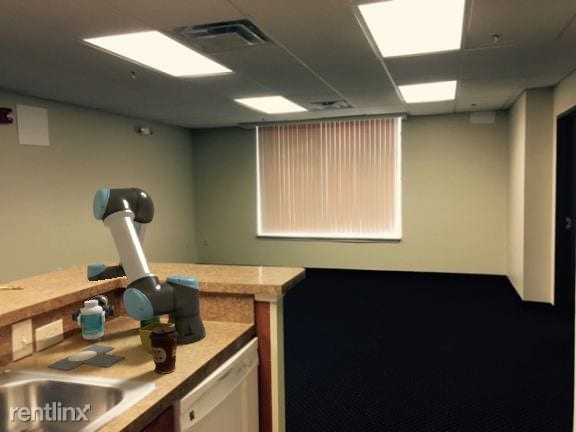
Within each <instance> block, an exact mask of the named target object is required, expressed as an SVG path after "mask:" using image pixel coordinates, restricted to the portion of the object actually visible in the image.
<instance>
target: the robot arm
mask: <svg viewBox="0 0 576 432" xmlns="http://www.w3.org/2000/svg"><path fill="white" fill-rule="evenodd" d="M92 212H93V216H94V219H96V220H97V221H102V224H103V226H104V227H105V228H107V229H109V231H110V233H111V236H112V239H113V242H114V245H115V248H116V251H117V253H118V256H119V262H118V264H117V265H109V266H107V264H106V263H104V262H98V263H97V262H94V263H91V264H89V265H88V266H87V269H86V272H87V273H86V274H87V277H86V278H87V281H88V280H89V281H98V280H105V279H112V278H117V277H123V276H126V277H127V280H128V282H127V284H126V286H125V290H124V292H123V295H122V297H123V298H122V299H123V305H124V307H125V311H126V313H127V315H128V316H129V317H130V318H131V319H132V320H135V321H137V322H138V321H139V322H140V321H141V320H149V319H151V318H155V317H159V316H160V317H163V316H168V318H167V319H168V320H167V323H168V324H174V328H175V331H177V332H178V337H177V342H176V345H183V344H189V343H190V344H191V343H196V342H199V341H201V340H203V339H204V338H206V336H207V333H206V332H207V331H206V327H205V325H204V322H203V319H202V317H201V308H200V285H199V281H198V279H197V277H194V276H188V275H168V276H166V278H165V282H164V281H163V282H161V281H160V279H159V277H158V275H156V274H154V273H152V271H151V268H150V264H149V261H148V260H147V257H146V254H145V252H144V249H143V244H144V242H145V238H146V234H147V231H148V227H149V224H150V223H152V222H153V220H154V216H155V203H154V201H153V199H152V197H151V195H150V194H148V193H147V191H146V190H143V189H141V188H139V187H124V188H122V187H121V188H119V187H118V188H109V187H107V188H101V189H98V190H97V191H96V192H95V194H94V196H93V202H92ZM90 300H98V306H101V307H102V309H103V313H102V323H103V324H104V323H105V322H106V319H108V318H110V317H114V316H115V310H114V304H112V303H111V304H109V305H108V303H109V301H108V298H107V296H105V295H97V296H95V297H93V298H91V299H90ZM82 309H83V308H82V307H76V308H75V310H74V311H73V312H72V313H71V321H72V322H76V323H77V327H79V326H82V319H81V310H82Z"/></svg>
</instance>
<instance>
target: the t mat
mask: <svg viewBox="0 0 576 432" xmlns="http://www.w3.org/2000/svg"><path fill="white" fill-rule="evenodd" d="M113 350H115V347H114V346H107V345H101V344H93V345H90V346H89V347H87V348H84V349H82V350H79V351H77V352H75V353H72V354H71V355H68V356H66V357H64V358H62V359H59V360H57V361H54V362H53V363H50V364H48V365H47V368H49V369H54V370H55V369H56V370H61V371H67V372H69V371H71V370H74V369H75V368H78V367H80V366H82V365H89V366H96V367H101V368H109V367H111V366H112V365H113V366H114V365H115V364H117V363H119V362H120V361H122V360H124V359H125V358H126V357H125V356H124V355H123V356H122V355H115V354H108V352H112V351H113Z"/></svg>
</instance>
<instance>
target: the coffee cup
mask: <svg viewBox="0 0 576 432" xmlns="http://www.w3.org/2000/svg"><path fill="white" fill-rule="evenodd" d="M151 331H152V332H151V334H150V335H149V339H151V348H152V354H151V355H152V359H153V362H154V365H155V367H154V372H155V373H157V374H158V373H159V374H170V373H172V372H174V371H176V370H177V367H176V362H177V361H176V359H177V349H178V348H177V347H178V344H176V342H177V337H178V332H177V331H175V328H174V327H157V328H155V329H152V330H151Z"/></svg>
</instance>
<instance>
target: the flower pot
mask: <svg viewBox="0 0 576 432" xmlns="http://www.w3.org/2000/svg"><path fill="white" fill-rule="evenodd" d="M157 327H174V324H168V323H165V322H161V323H157V322H154V323H152V324H150V325H148V326H146V327H144V328H142V329H141V328H140V329H138V333H139V338H140V342H141V346H142V347H143V349H144V351H145V352H146V353H147V354H148V355H153V354H152V348H151V339H149V335H150V334H151V332H152V331H151V330H152V329H155V328H157Z"/></svg>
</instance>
